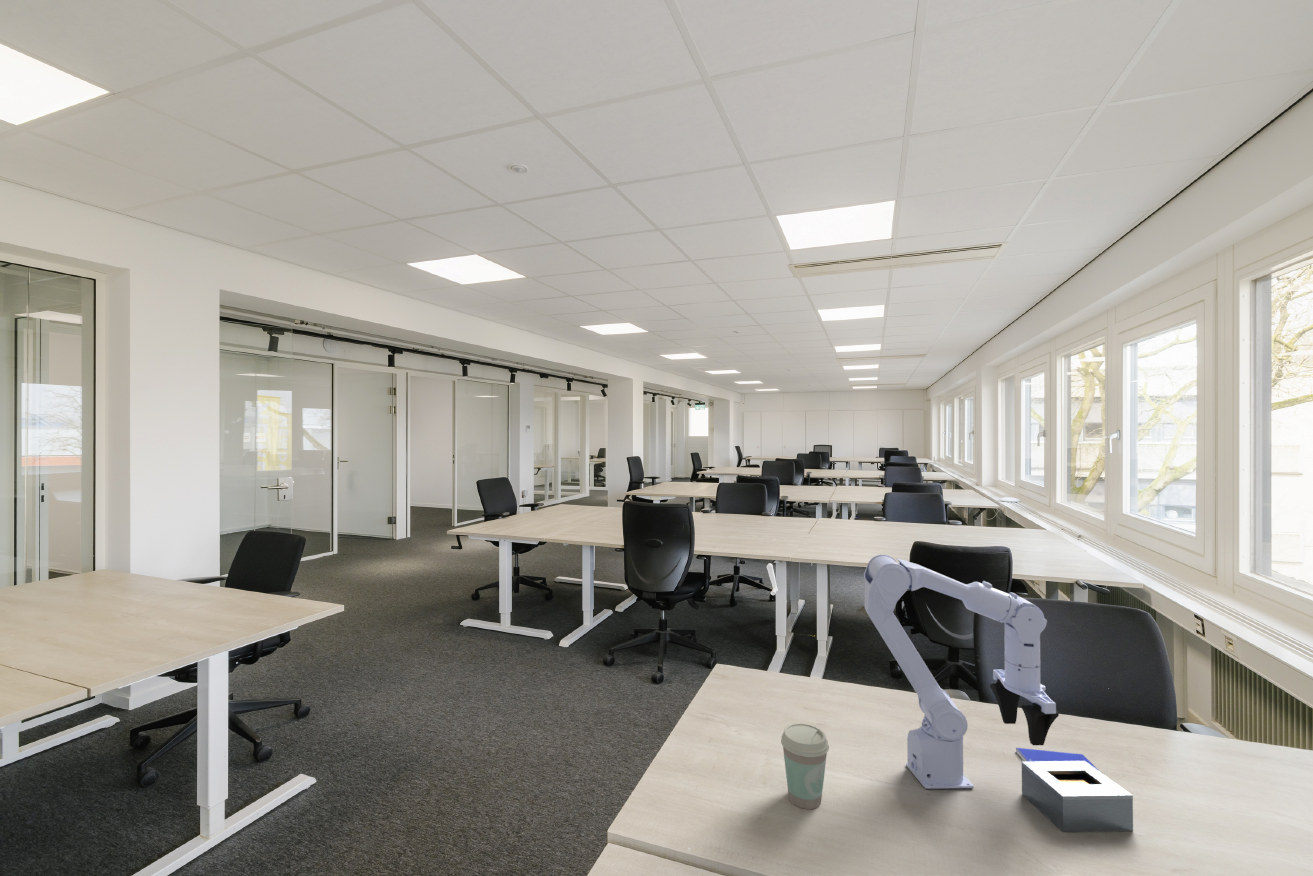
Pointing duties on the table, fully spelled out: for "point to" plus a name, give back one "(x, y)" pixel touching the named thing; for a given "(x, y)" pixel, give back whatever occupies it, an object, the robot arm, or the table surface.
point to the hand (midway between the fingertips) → (1022, 733)
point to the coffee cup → (805, 763)
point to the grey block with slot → (1077, 796)
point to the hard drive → (1050, 756)
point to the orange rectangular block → (1073, 782)
